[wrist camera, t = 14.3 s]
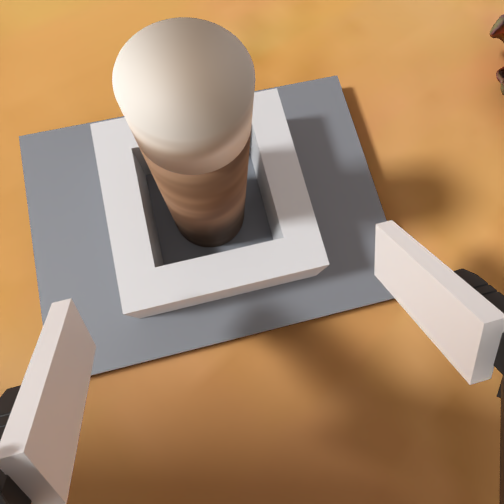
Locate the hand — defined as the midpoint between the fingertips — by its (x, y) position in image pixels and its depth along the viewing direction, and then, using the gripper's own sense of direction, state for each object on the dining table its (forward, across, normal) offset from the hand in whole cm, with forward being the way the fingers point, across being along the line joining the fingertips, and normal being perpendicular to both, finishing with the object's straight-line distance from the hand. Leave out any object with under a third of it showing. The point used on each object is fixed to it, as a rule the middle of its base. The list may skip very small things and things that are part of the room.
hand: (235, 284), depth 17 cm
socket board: (+10, 0, -2) cm, 10 cm away
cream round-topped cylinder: (+9, 0, -1) cm, 9 cm away
